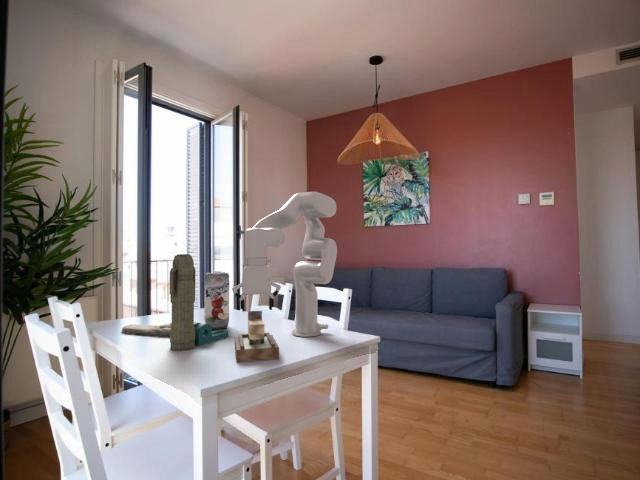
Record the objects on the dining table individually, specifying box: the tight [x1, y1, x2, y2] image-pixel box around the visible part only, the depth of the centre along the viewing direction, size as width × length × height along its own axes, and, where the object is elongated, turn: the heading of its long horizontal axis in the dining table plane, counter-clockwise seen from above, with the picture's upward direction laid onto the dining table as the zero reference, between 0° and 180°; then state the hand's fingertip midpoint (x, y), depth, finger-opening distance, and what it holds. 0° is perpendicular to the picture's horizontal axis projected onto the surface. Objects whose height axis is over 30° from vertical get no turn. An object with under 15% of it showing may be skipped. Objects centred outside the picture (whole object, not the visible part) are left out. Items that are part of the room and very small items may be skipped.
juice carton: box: [204, 269, 230, 331], centre depth 173 cm, size 9×10×27 cm
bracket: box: [194, 321, 229, 347], centre depth 152 cm, size 18×7×8 cm, turn 150°
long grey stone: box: [121, 322, 172, 338], centre depth 162 cm, size 35×5×10 cm
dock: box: [234, 332, 280, 363], centre depth 133 cm, size 14×18×5 cm
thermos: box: [169, 253, 196, 352], centre depth 140 cm, size 9×12×35 cm
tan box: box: [247, 310, 265, 344], centre depth 133 cm, size 5×10×10 cm, turn 14°
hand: (257, 310), depth 134 cm, fingers open, 9 cm apart
